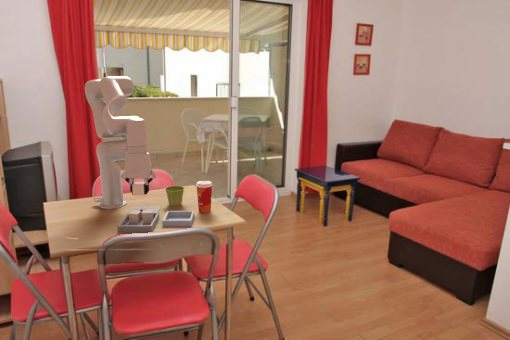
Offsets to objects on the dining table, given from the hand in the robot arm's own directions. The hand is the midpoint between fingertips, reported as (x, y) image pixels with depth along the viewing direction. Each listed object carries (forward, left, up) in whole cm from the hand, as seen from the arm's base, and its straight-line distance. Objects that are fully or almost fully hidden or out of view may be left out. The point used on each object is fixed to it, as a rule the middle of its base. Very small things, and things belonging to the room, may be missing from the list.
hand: (139, 193), depth 164 cm
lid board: (-4, +19, -15) cm, 24 cm away
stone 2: (+1, +7, -15) cm, 16 cm away
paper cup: (+24, +21, -16) cm, 36 cm away
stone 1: (-4, +7, -15) cm, 17 cm away
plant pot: (+9, +30, -16) cm, 35 cm away
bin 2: (+14, +7, -15) cm, 22 cm away
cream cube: (0, 0, 0) cm, 0 cm away
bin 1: (-2, +3, -15) cm, 16 cm away
